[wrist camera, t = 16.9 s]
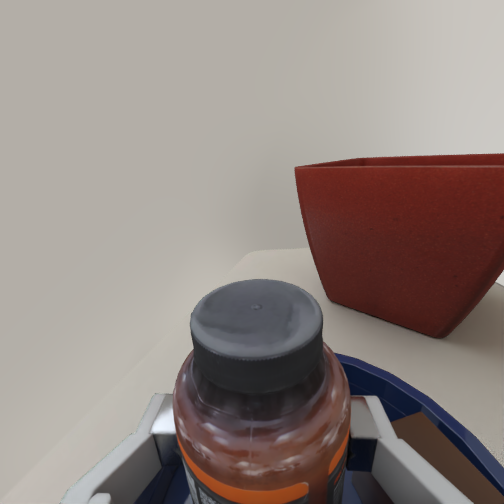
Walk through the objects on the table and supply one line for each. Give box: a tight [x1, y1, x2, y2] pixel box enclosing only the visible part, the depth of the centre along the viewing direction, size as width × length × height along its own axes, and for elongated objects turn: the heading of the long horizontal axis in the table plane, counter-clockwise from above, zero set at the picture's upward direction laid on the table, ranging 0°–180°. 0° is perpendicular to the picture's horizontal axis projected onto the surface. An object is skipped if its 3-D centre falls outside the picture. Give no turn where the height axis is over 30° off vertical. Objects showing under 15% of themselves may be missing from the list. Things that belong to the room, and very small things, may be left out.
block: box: [351, 412, 504, 504], centre depth 12 cm, size 4×4×4 cm
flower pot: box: [295, 154, 504, 338], centre depth 30 cm, size 19×19×17 cm
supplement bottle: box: [173, 279, 351, 504], centre depth 10 cm, size 6×6×11 cm
